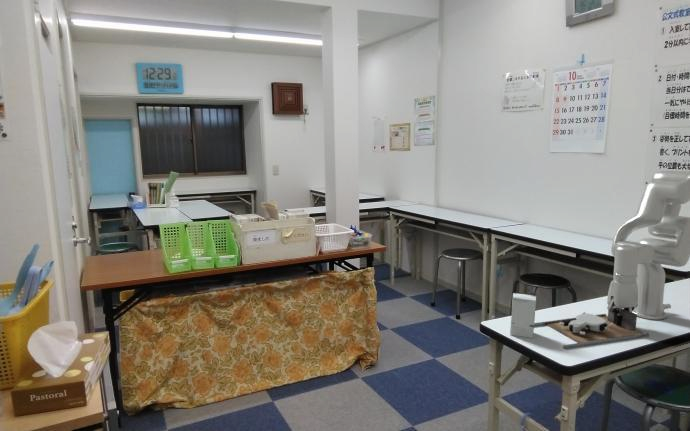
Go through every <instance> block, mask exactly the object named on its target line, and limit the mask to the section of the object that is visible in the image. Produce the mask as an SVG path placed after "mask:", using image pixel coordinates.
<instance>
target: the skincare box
mask: <svg viewBox="0 0 690 431" xmlns="http://www.w3.org/2000/svg"><path fill="white" fill-rule="evenodd" d="M536 306H537V296H536V295H530V294H525V293H516V292H514V293H512V303H511V318H510V332H509V335H510V336H514V337H521V338H529V339H534V329H535V327H534V323H535V319H536V310H537V309H536Z"/></svg>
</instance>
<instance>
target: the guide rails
mask: <svg viewBox="0 0 690 431" xmlns="http://www.w3.org/2000/svg"><path fill="white" fill-rule="evenodd" d="M595 315H596V316H599V317H603V316H607V314H606V313H601V314H595ZM573 320H576V317H570V318H569V317H568V318H563V319H554V320H548V321H540V322H534V328H535V327H542V326H547V324H551V323H559V322H563V321H573ZM647 337H650V332H643V334H636V335H629V336H622V337H616V338H609V339H602V340H595V341H589V342H582V343H577V342H576V343H571V344H569V343H568V344H564V345H563V346H562V348H563V349H564V350H567V349H574V348H583V347H586V346H594V345H595V346H596V345H601V344H607V343H613V342H621V341H627V340H634V339H639V338H647Z"/></svg>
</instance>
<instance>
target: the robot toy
mask: <svg viewBox="0 0 690 431" xmlns="http://www.w3.org/2000/svg"><path fill="white" fill-rule="evenodd" d="M596 315H597V314H593V313H587V312H586V311H583V312H582V313H581V314H578V315H576V316H575V318H576V320H573V321H563V322H559V324H560V325H564V326H569V331H573V332H574V333H578V334H582V335H586V334H587V332H588V330H592V331H596V332H600V331H602V330H605V329H607V327H609V326H610V325H612V324H613V323H611V324H610V325H609V326H607V321H606V320H604V319H603V318H601V317H599V316H596Z"/></svg>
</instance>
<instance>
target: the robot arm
mask: <svg viewBox="0 0 690 431" xmlns="http://www.w3.org/2000/svg"><path fill="white" fill-rule="evenodd" d="M689 201H690V171H688V170H687V171H686V170H683V171H682V170H661V171H660V170H659V171H656V172H654V173H653V174H652V176H651V180H650V182H649V183H647V184H646V185H645V187H644V189H643V192H642V195H641V198H640V202H639V204H638V207H637V210H636V214H635V215H634V216H633V217H631V218H629V219H628V220H627V221H626V222H624V223H623V224H622V225H621V226H620V227H619V228H618V229H617V230H616V233H615V235H614V238H613V242H612V244H611V250H610V252H611V255H612V256H613V257H614V263H613V264H614V266H613V275H612V277H613V278H612V279H613V280H611V282H610V284H609V288H608V292H607V299H606V301H607V302H606V304H607V307H606V308H607V310H608V309H609V310H611V311H612V312H613V314H614V320H613V323H614V324H616V325H618V326H621V324H622V316H621V311H622V309H625V310H627V311H630V312H632V313H634V314H637V317H639V318H643V319H647V320H655V321H656V320H657V321H658V320H664V319H666V318H667V313H666V312H665V310H668V309H671V308H672V305H671V303H665V304H664V295H665V294H664V293H665V286H666V285H665V283H666V272H665V270H664V267H663V266H662V265H665V266H671V267H677V268H682V267H685V266H687V264H688V262H689V260H690V217H688V216H684V215H681V216H680V211H681V209H682V205H684V204H687V203H688V202H689ZM645 228H647V231H648V233H649V235H651V236H653V237H656V238H652V237H651V238H650V237H648V238H647V237H646V238H642V239H640V240H638V242H635V241H630V240H627V239H628V237H629V236H630V235H631V234H632V233H634V232H635V231H637V230H641V229H645ZM659 238H662V239H659ZM666 239H668V240H666ZM673 240H675V241H673ZM617 309H618V311H617Z"/></svg>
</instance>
